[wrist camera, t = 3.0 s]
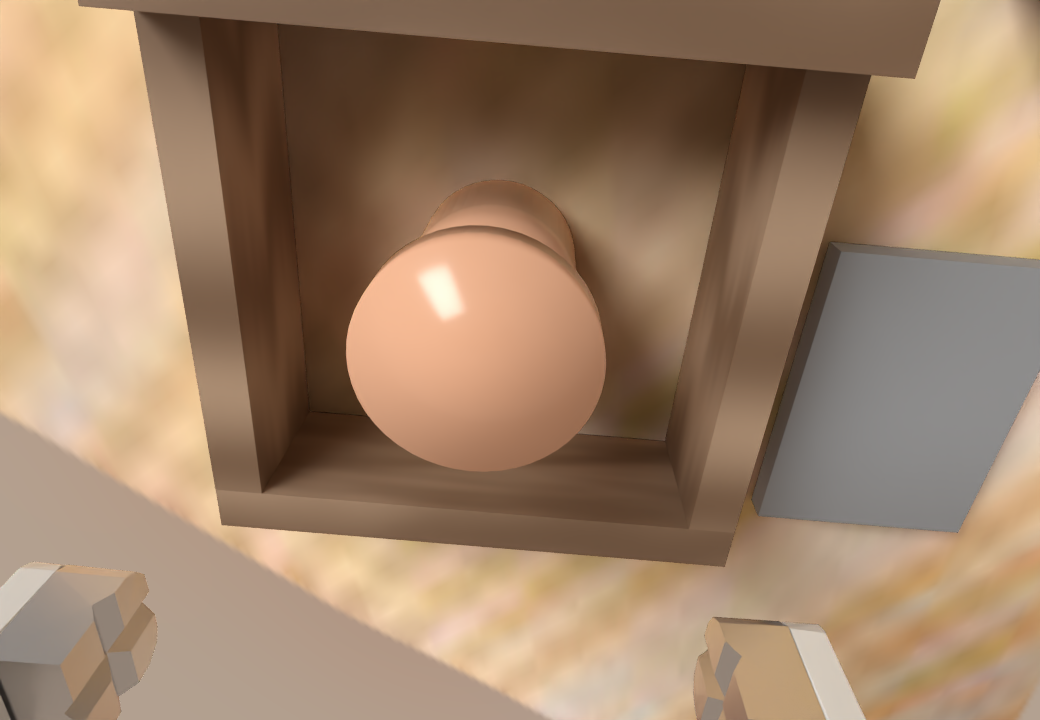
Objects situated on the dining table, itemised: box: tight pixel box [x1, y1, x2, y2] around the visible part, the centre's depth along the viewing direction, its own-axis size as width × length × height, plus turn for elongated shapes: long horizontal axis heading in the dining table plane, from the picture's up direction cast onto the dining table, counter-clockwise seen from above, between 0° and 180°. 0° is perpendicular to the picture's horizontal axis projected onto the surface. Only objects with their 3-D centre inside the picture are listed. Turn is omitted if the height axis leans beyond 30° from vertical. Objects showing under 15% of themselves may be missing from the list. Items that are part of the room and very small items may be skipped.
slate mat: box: [751, 242, 1040, 533], centre depth 25 cm, size 11×8×1 cm
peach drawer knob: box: [346, 180, 606, 472], centre depth 20 cm, size 6×6×8 cm
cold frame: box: [78, 0, 940, 567], centre depth 20 cm, size 17×17×7 cm
